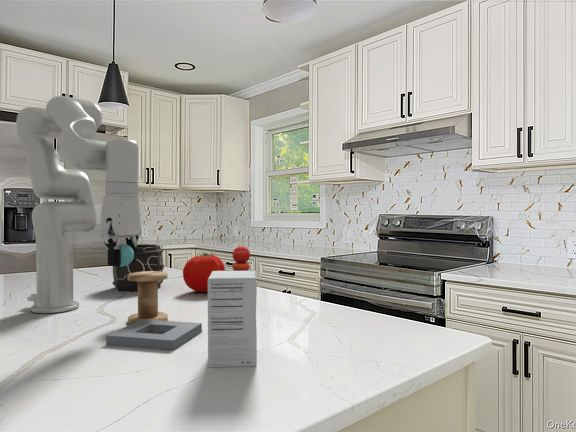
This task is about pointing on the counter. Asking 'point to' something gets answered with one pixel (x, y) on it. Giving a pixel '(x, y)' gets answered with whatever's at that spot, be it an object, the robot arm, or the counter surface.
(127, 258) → the teal ball
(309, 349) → the counter surface
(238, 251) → the stacking toy
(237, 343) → the supplement box
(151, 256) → the black lettered canister
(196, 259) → the tomato
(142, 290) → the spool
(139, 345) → the square hole board
